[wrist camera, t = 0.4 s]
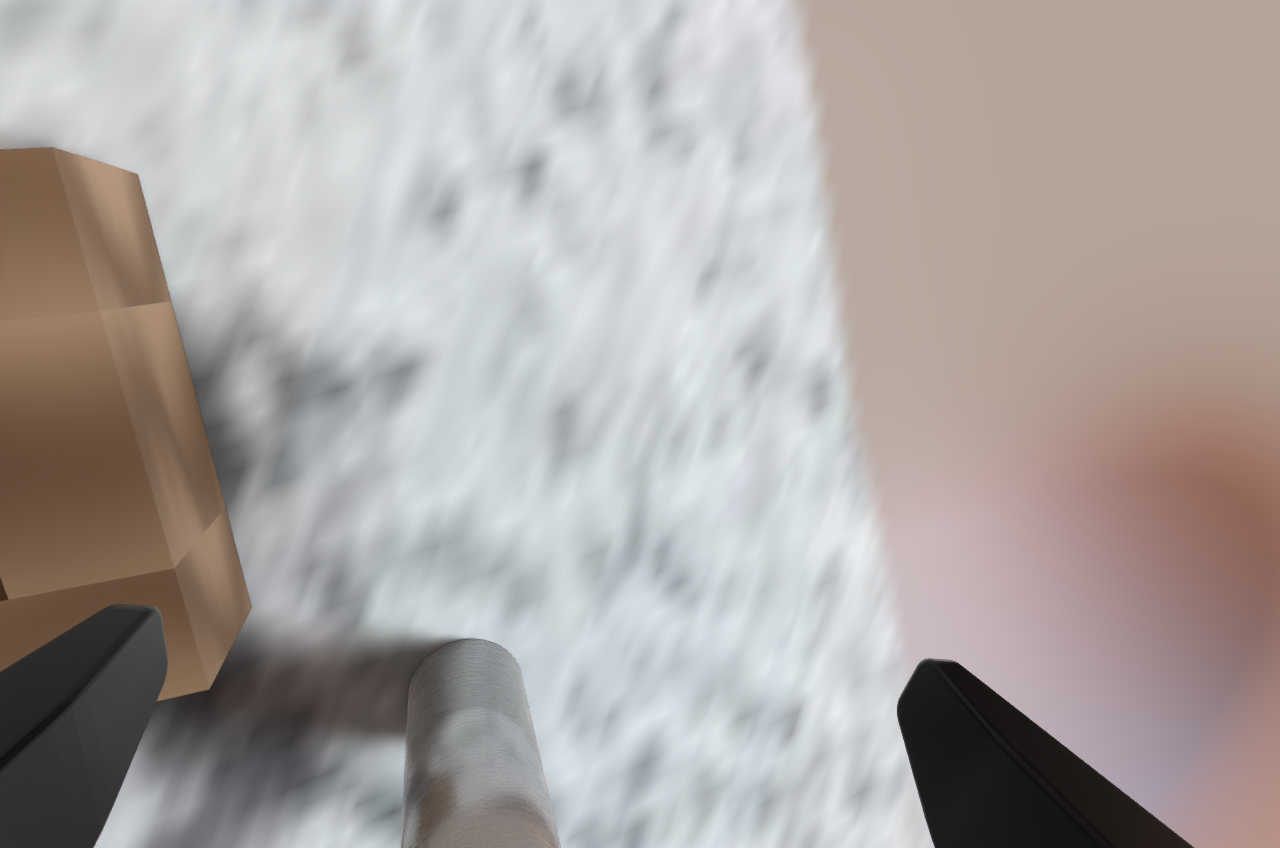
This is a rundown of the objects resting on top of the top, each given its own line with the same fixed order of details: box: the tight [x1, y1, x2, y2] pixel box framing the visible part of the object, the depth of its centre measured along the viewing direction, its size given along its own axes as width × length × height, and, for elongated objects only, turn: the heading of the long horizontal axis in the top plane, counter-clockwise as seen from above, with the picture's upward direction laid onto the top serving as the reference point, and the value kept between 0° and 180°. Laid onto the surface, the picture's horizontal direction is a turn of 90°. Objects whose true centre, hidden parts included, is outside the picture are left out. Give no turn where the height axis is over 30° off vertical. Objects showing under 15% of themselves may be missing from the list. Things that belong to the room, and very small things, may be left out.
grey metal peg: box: [401, 639, 561, 848], centre depth 17 cm, size 4×4×10 cm
